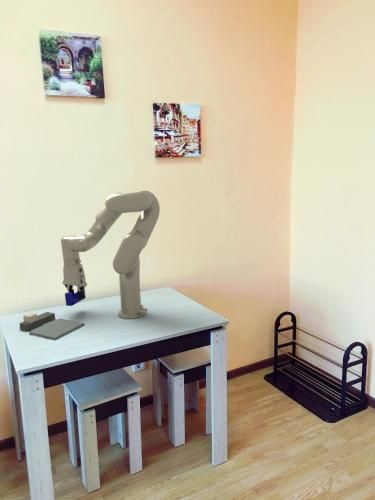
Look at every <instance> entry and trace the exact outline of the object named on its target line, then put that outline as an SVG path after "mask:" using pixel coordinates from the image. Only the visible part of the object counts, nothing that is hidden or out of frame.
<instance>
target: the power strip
mask: <svg viewBox="0 0 375 500" xmlns="http://www.w3.org/2000/svg"><path fill="white" fill-rule="evenodd" d="M37 314H38V313H34V312H28V313H26V314H23V315H22V317H23V321H21V322H19V330H20V331H25V332H30V331H33V330H35V329H37V328H39V327H41V326H44V325H46V324H48V323H50V322H53V321H55V320H56V314H55V313H54V312H49V311H46V312H44V313H40V314H39V315H37Z"/></svg>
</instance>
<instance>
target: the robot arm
mask: <svg viewBox="0 0 375 500" xmlns="http://www.w3.org/2000/svg"><path fill="white" fill-rule="evenodd" d="M160 209H161V208H160V202H159V201H158V198H157V197H156V196H155V194H154V193H152V192H151V191H149V190H140V191H136V192H129V193H128V192H126V193H123V192H115V193H112V194H110V195H108V196H107V197H106V199H105V202H104V205H103V207H102V208H101V209H100V210H99V211H98V213H97V214H96V216H95V221H94V223H93V224H92V226H91V227H90V228H89V229H88V230H87V232H86V233H84V234H81V235H80V236H75V235H66V236H62V237H61V239H60V245H61V252H62V258H63V268H62V272H63V281H62V284H63V286H65V288H66V290H67V293H72V295H74V293H75V289H74V286H75V287H76V288H77V289H78V299H79V300H80V299H83V298H84V294H83V290H84V288H86V287H87V286H88V283H87V280H86V274H85V271H84V267H83V264H82V261H81V259H80V257H81V256H80V253H85V252H88V251H90V250H91V249H93V248H95V247H96V246H97V245H98V244H99V242H101V240H102V239H103V238H104V237H105V235H106V234H107V233H108V231H109V230H110V229H111V228H112V227H113V225H114V224H115V223H116V221H117V220H118V219H119V218H120V217H121V216H122V215H123V214H126V213H127V214H128V213H140V214H139V215H138V217H137V220H136V221H135V224H134V226H133V228H132V229H131V231H130V232H128V233H127V234H126V235H125V236H124V237H123V239H122V240H121V243H120V245H119V247H118V249H117V250H116V251H117V252H116V253H115V256H114V258H113V260H112V267H113V270H114V271H115V272H116V273H117V274H119V275H118V278H119V279H118V281H119V294H120V297H119V298H120V310H119V311H118V313H117V316H118V317H120V318H121V319H127V320H128V319H129V320H133V319H137V318H141V317H143V316H144V315H147V313H148V308H145V307H144V305H143V304H142V302H141V300H142V299H141V298H142V297H141V283H140V282H141V279H140V278H141V277H140V269H141V266H140V265H141V260H140V259H141V258H140V254H141V253H142V251H143V250H145V248H146V246H147V244H148V242H149V239H150V238H151V236H152V233H153V231H154V229H155V226H156V225H157V222H158V221H159V216H160V211H161V210H160ZM80 287H81V288H80ZM83 300H84V299H83Z"/></svg>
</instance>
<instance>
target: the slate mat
mask: <svg viewBox="0 0 375 500" xmlns="http://www.w3.org/2000/svg"><path fill="white" fill-rule="evenodd" d="M85 325H86V324H85V322H82V321H76V320H71V319H65V318H61V317H60V318H58V319H55V320H53V321H50V322H48V323H46V324H44V325H42V326H39V327H37V328H35V329H33V330H30V331H28V333H29V334H28V335H31V336H36V337H39V338H45V339H48V340H53V341H56V340H59V339H60V338H62V337H64V336H65V335H68V334H70V333H72V332H74V331H76V330H79V328H82V327H83V326H85Z"/></svg>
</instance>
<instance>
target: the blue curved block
mask: <svg viewBox="0 0 375 500" xmlns="http://www.w3.org/2000/svg"><path fill="white" fill-rule="evenodd" d="M80 288H81V287H80ZM85 288H86V287H85ZM85 288H84V290H83V294H84V298H83V299H80V300H79V299H78V289H77V291H76V292H74V295H72V293H68V292H65V293H64V298H65V306H67V307H72V306H74V305H76V304H78V303H80V302H82V301H83V300H85V299H86V298H87V297H86V289H85Z"/></svg>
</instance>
